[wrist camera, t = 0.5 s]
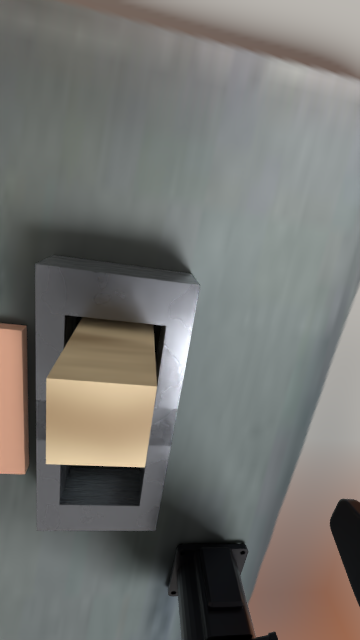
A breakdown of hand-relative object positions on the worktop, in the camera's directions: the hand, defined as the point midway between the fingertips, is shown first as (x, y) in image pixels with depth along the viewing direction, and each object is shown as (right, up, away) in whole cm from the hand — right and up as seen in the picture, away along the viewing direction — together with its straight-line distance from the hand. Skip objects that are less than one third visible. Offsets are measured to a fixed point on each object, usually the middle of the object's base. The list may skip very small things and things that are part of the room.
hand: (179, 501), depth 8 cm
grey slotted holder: (-5, 0, +13) cm, 14 cm away
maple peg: (-4, +3, +12) cm, 13 cm away
